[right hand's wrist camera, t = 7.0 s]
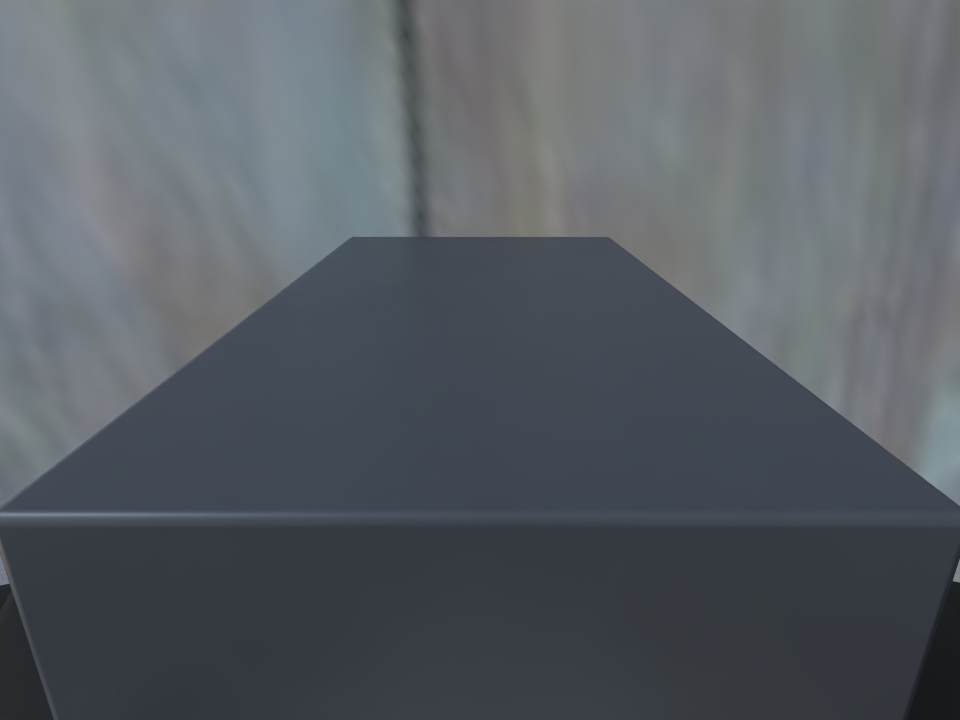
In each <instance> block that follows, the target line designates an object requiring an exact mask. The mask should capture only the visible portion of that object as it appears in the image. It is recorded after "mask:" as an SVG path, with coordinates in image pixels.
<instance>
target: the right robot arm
mask: <svg viewBox="0 0 960 720" xmlns="http://www.w3.org/2000/svg"><path fill="white" fill-rule="evenodd" d="M0 720H54V718H53V715H52V712H51V709H50V706H49V703H48V700H47V697H46V694H45V691H44V688H43V684H42V681H41V678H40V675H39V672H38V669H37V666H36V663H35V660H34V657H33V654H32V651H31V648H30V644H29V641H28V638H27V635H26V632H25V629H24V626H23V623H22V620H21V617H20V614H19V611H18V608H17V604H16V601H15V598H14V595H13V592H12V589H11V586H10V584H6V585H1V586H0ZM907 720H960V583H959V582H954V581H952V584H951V587H950V590H949V593H948V596H947V599H946V602H945V605H944V608H943V611H942V614H941V617H940V621H939V624H938V627H937V630H936V633H935V636H934V639H933V642H932V645H931V648H930V651H929V654H928V657H927V660H926V663H925V667H924V670H923V673H922V676H921V679H920V682H919V685H918V688H917V691H916V694H915V697H914V700H913V703H912V706H911V710H910V713H909V716H908V719H907Z"/></svg>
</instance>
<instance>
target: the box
mask: <svg viewBox="0 0 960 720" xmlns="http://www.w3.org/2000/svg"><path fill="white" fill-rule="evenodd" d="M0 555H1V558H2V561H3V564H4V567H5V571H6V574H7V577H8V580H9V583H10V586H11V589H12V592H13V595H14V598H15V601H16V604H17V608H18V611H19V614H20V617H21V620H22V623H23V626H24V629H25V632H26V635H27V638H28V641H29V644H30V648H31V651H32V654H33V657H34V660H35V663H36V666H37V669H38V672H39V675H40V678H41V681H42V684H43V688H44V691H45V694H46V697H47V700H48V703H49V706H50V709H51V712H52V715H53V718H54V720H907V719H908V716H909V713H910V710H911V706H912V703H913V700H914V697H915V694H916V691H917V688H918V685H919V682H920V679H921V676H922V673H923V670H924V667H925V663H926V660H927V657H928V654H929V651H930V648H931V645H932V642H933V639H934V636H935V633H936V630H937V627H938V624H939V621H940V617H941V614H942V611H943V608H944V605H945V602H946V599H947V596H948V593H949V590H950V587H951V584H952V581H953V578H954V574H955V571H956V568H957V565H958V562H959V559H960V506H959V505H957V504H956V503H955V502H954V501H952V500H951V499H950V498H948V497H947V496H946V495H944V494H943V493H942V492H940V491H939V490H938V489H937V488H935V487H934V486H933V485H931V484H930V483H929V482H927V481H926V480H925V479H924V478H922V477H921V476H920V475H918V474H917V473H916V472H914V471H913V470H912V469H910V468H909V467H908V466H907V465H905V464H904V463H903V462H901V461H900V460H899V459H897V458H896V457H895V456H894V455H892V454H891V453H890V452H888V451H887V450H886V449H884V448H883V447H882V446H880V445H879V444H878V443H877V442H875V441H874V440H873V439H871V438H870V437H869V436H867V435H866V434H865V433H864V432H862V431H861V430H860V429H858V428H857V427H856V426H854V425H853V424H852V423H850V422H849V421H848V420H847V419H845V418H844V417H843V416H841V415H840V414H839V413H837V412H836V411H835V410H834V409H832V408H831V407H830V406H828V405H827V404H826V403H824V402H823V401H822V400H820V399H819V398H818V397H817V396H815V395H814V394H813V393H811V392H810V391H809V390H807V389H806V388H805V387H804V386H802V385H801V384H800V383H798V382H797V381H796V380H794V379H793V378H792V377H790V376H789V375H788V374H787V373H785V372H784V371H783V370H781V369H780V368H779V367H777V366H776V365H775V364H774V363H772V362H771V361H770V360H768V359H767V358H766V357H764V356H763V355H762V354H760V353H759V352H758V351H757V350H755V349H754V348H753V347H751V346H750V345H749V344H747V343H746V342H745V341H743V340H742V339H741V338H740V337H738V336H737V335H736V334H734V333H733V332H732V331H730V330H729V329H728V328H727V327H725V326H724V325H723V324H721V323H720V322H719V321H717V320H716V319H715V318H713V317H712V316H711V315H710V314H708V313H707V312H706V311H704V310H703V309H702V308H700V307H699V306H698V305H697V304H695V303H694V302H693V301H691V300H690V299H689V298H687V297H686V296H685V295H683V294H682V293H681V292H680V291H678V290H677V289H676V288H674V287H673V286H672V285H670V284H669V283H668V282H667V281H665V280H664V279H663V278H661V277H660V276H659V275H657V274H656V273H655V272H653V271H652V270H651V269H650V268H648V267H647V266H646V265H644V264H643V263H642V262H640V261H639V260H638V259H637V258H635V257H634V256H633V255H631V254H630V253H629V252H627V251H626V250H625V249H623V248H622V247H621V246H620V245H618V244H617V243H616V242H614V241H613V240H612V239H610V238H608V237H352V238H350V239H349V240H347V241H346V242H345V243H343V244H342V245H341V246H339V247H338V248H337V249H336V250H334V251H333V252H332V253H330V254H329V255H328V256H326V257H325V258H324V259H322V260H321V261H320V262H319V263H317V264H316V265H315V266H313V267H312V268H311V269H309V270H308V271H307V272H306V273H304V274H303V275H302V276H300V277H299V278H298V279H296V280H295V281H294V282H293V283H291V284H290V285H289V286H287V287H286V288H285V289H283V290H282V291H281V292H280V293H278V294H277V295H276V296H274V297H273V298H272V299H270V300H269V301H268V302H267V303H265V304H264V305H263V306H261V307H260V308H259V309H257V310H256V311H255V312H254V313H252V314H251V315H250V316H248V317H247V318H246V319H244V320H243V321H242V322H241V323H239V324H238V325H237V326H235V327H234V328H233V329H231V330H230V331H229V332H228V333H226V334H225V335H224V336H222V337H221V338H220V339H218V340H217V341H216V342H215V343H213V344H212V345H211V346H209V347H208V348H207V349H205V350H204V351H203V352H202V353H200V354H199V355H198V356H196V357H195V358H194V359H192V360H191V361H190V362H189V363H187V364H186V365H185V366H183V367H182V368H181V369H179V370H178V371H177V372H176V373H174V374H173V375H172V376H170V377H169V378H168V379H166V380H165V381H164V382H163V383H161V384H160V385H159V386H157V387H156V388H155V389H153V390H152V391H151V392H150V393H148V394H147V395H146V396H144V397H143V398H142V399H140V400H139V401H138V402H137V403H135V404H134V405H133V406H131V407H130V408H129V409H127V410H126V411H125V412H124V413H122V414H121V415H120V416H118V417H117V418H116V419H114V420H113V421H112V422H111V423H109V424H108V425H107V426H105V427H104V428H103V429H101V430H100V431H99V432H98V433H96V434H95V435H94V436H92V437H91V438H90V439H88V440H87V441H86V442H85V443H83V444H82V445H81V446H79V447H78V448H77V449H75V450H74V451H73V452H71V453H70V454H69V455H68V456H66V457H65V458H64V459H62V460H61V461H60V462H58V463H57V464H56V465H55V466H53V467H52V468H51V469H49V470H48V471H47V472H45V473H44V474H43V475H42V476H40V477H39V478H38V479H36V480H35V481H34V482H32V483H31V484H30V485H29V486H27V487H26V488H25V489H23V490H22V491H21V492H19V493H18V494H17V495H16V496H14V497H13V498H12V499H10V500H9V501H8V502H6V503H5V504H4V505H3V506H1V507H0Z"/></svg>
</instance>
